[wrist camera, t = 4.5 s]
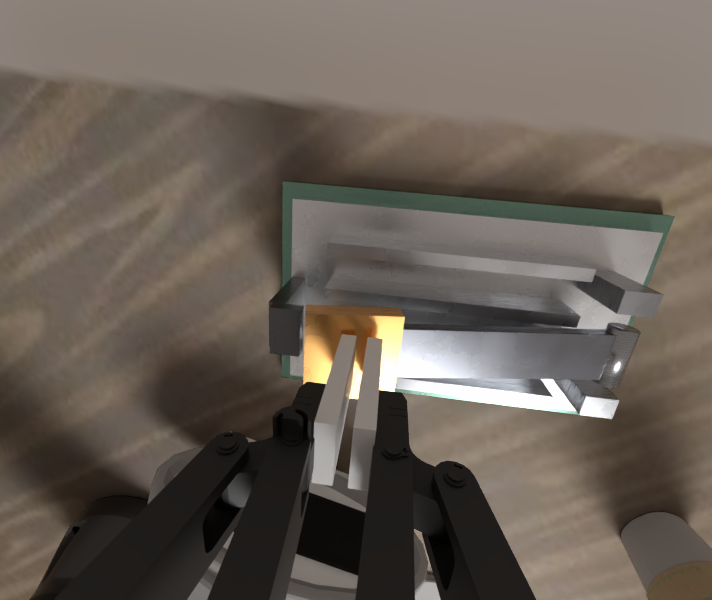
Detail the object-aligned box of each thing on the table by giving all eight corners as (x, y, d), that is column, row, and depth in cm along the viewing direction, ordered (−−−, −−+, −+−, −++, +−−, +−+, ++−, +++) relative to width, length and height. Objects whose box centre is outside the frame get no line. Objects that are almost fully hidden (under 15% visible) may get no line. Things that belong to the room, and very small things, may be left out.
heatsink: (285, 370, 31) (250, 435, 24) (286, 180, 26) (241, 186, 18) (589, 408, 30) (655, 491, 22) (663, 214, 24) (788, 236, 16)
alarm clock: (423, 494, 35) (439, 663, 23) (399, 533, 37) (401, 706, 25) (200, 412, 34) (95, 544, 22) (189, 457, 36) (88, 599, 24)
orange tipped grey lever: (304, 379, 21) (302, 398, 19) (306, 300, 19) (305, 313, 17) (602, 382, 23) (624, 399, 21) (629, 312, 21) (655, 325, 20)
